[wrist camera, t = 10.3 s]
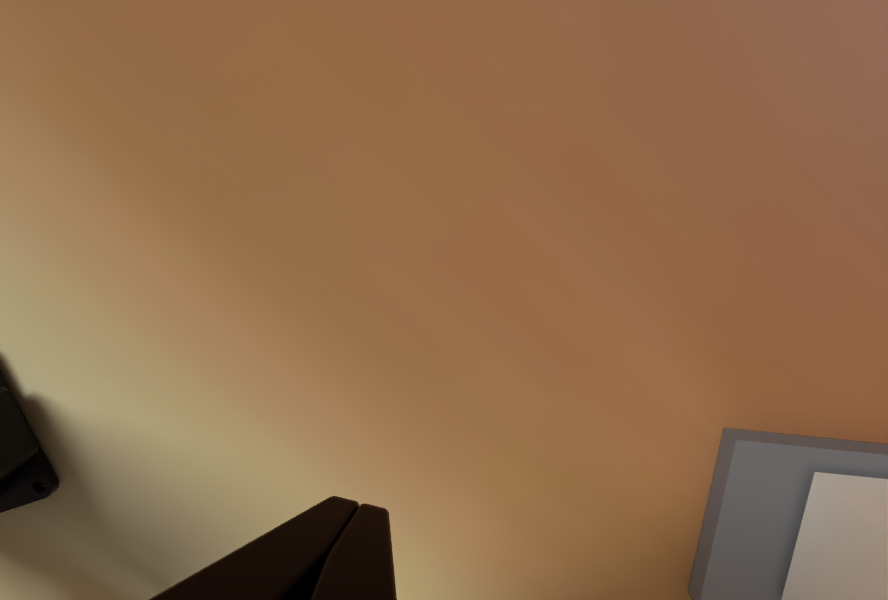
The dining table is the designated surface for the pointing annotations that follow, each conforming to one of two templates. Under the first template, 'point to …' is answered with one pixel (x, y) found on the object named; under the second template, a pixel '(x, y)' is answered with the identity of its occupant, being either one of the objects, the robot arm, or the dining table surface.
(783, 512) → the housing
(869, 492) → the plunger
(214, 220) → the dining table surface
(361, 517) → the robot arm
